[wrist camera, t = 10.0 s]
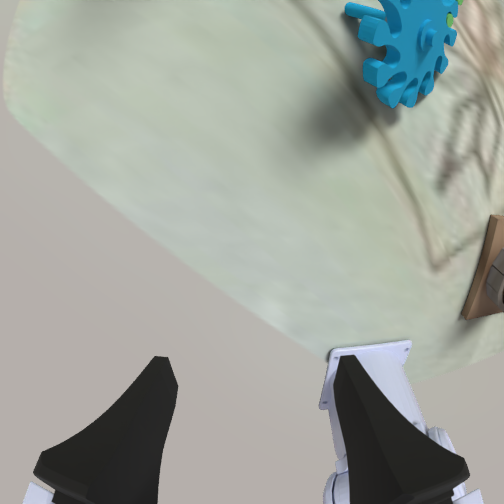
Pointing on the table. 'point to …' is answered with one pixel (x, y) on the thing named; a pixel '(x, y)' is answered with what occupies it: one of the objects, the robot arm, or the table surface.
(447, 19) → the gear
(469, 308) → the manifold board
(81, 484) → the robot arm
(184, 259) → the table surface
